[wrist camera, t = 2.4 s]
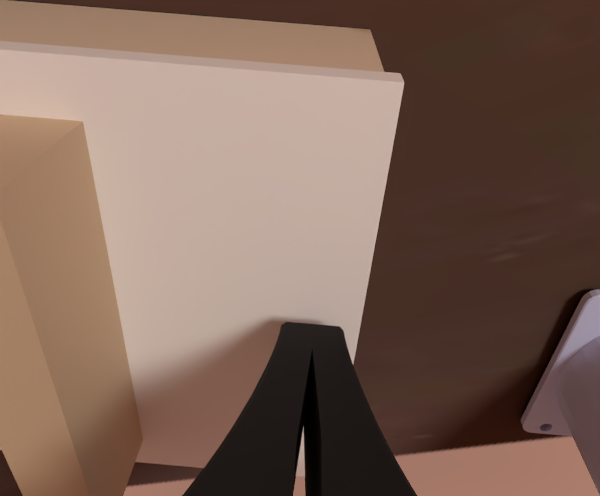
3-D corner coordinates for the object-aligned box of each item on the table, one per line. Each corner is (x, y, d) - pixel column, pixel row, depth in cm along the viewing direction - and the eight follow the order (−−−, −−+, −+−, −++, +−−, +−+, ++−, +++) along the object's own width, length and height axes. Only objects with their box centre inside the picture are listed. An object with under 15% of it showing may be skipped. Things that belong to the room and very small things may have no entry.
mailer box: (370, 29, 14) (386, 79, 9) (328, 341, 20) (326, 449, 16) (-200, -17, 14) (-429, 12, 10) (-55, 308, 20) (-153, 407, 16)
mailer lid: (400, 73, 9) (432, 149, 6) (332, 462, 16) (332, 586, 13) (-468, 2, 9) (-848, 43, 6) (-164, 418, 16) (-276, 530, 13)
